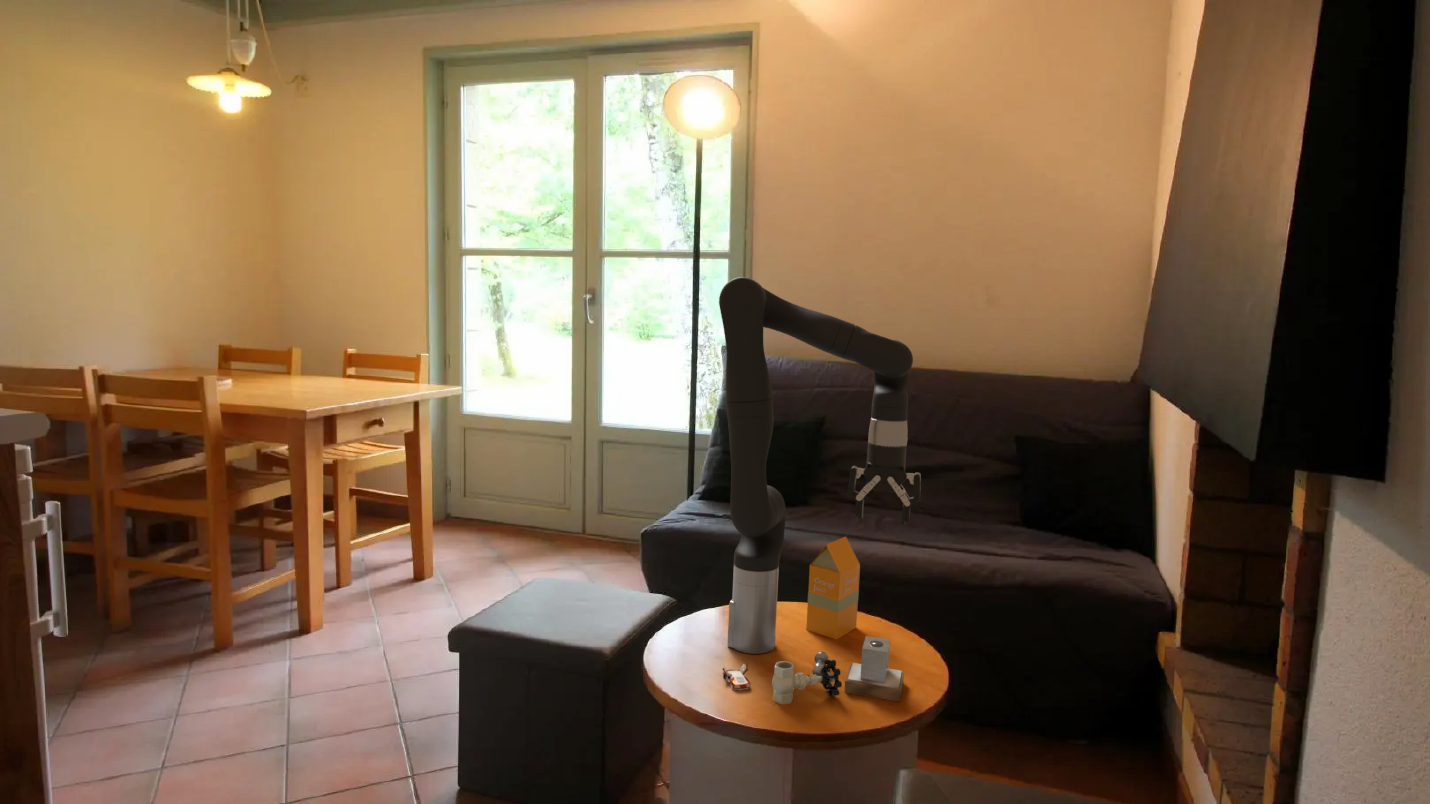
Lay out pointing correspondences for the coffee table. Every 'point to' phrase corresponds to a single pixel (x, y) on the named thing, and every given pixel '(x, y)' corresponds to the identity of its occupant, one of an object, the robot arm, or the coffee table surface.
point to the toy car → (737, 678)
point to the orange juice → (833, 590)
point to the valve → (802, 680)
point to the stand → (874, 684)
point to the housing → (875, 659)
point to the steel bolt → (819, 662)
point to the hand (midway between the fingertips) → (881, 520)
